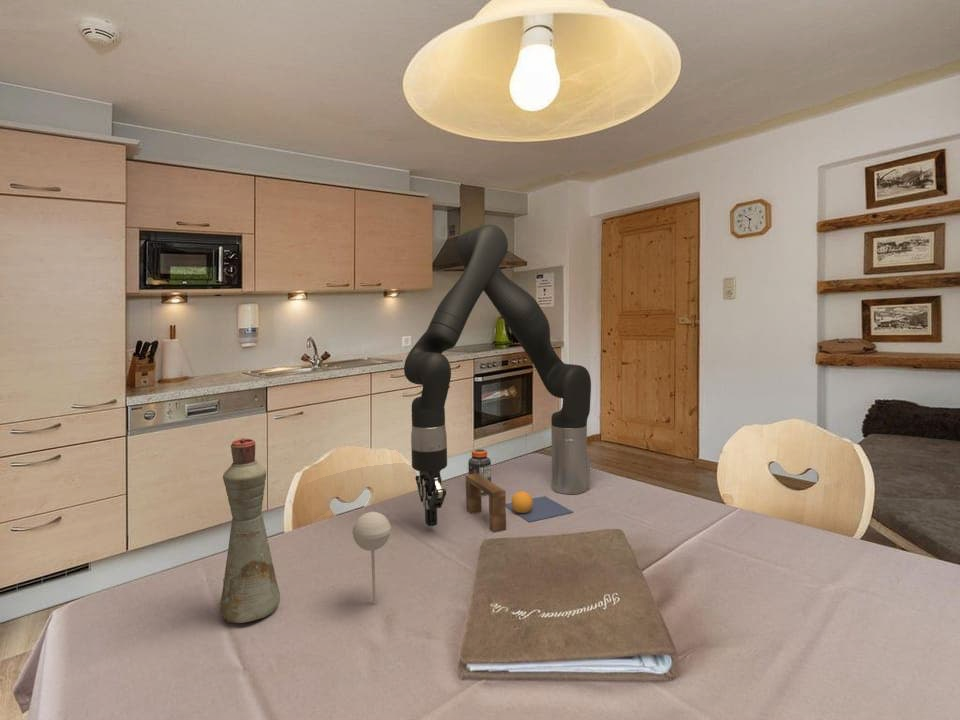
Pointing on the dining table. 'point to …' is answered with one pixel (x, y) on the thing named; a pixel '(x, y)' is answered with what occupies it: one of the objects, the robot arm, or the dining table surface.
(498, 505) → the bridge
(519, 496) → the ball
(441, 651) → the dining table surface
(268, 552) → the bottle
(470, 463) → the pill bottle
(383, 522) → the lollipop
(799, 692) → the dining table surface
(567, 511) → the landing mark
